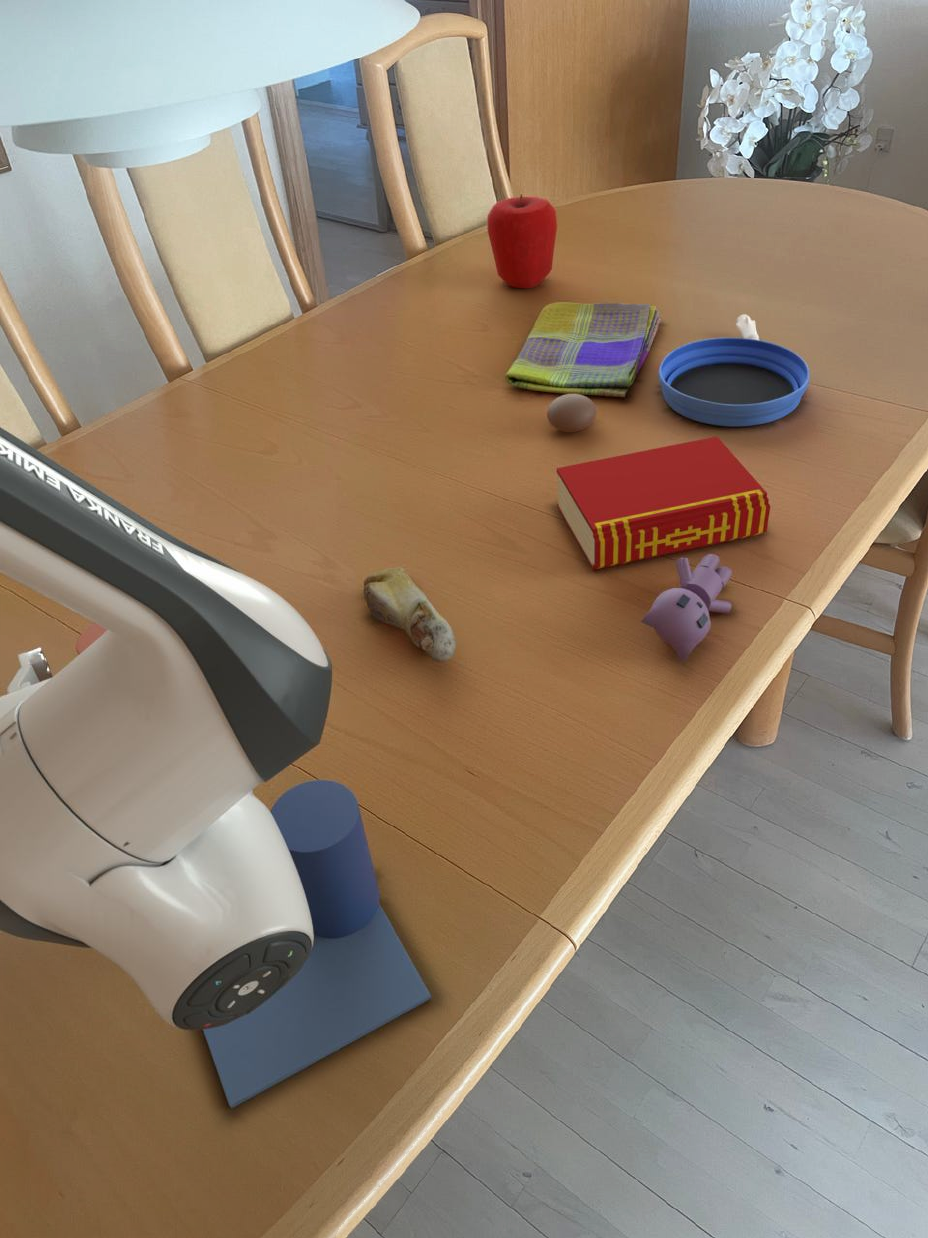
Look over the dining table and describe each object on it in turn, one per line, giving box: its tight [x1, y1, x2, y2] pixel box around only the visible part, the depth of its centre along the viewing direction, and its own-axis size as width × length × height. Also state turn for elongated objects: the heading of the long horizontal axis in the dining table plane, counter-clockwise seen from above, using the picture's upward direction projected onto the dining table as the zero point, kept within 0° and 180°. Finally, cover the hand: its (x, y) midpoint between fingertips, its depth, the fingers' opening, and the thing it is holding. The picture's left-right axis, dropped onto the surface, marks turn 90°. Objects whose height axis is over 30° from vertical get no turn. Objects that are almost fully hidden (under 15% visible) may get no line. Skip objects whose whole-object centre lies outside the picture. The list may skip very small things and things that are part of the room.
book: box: [556, 436, 771, 571], centre depth 102 cm, size 18×13×5 cm
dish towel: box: [504, 301, 662, 398], centre depth 134 cm, size 18×24×3 cm
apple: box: [486, 193, 558, 289], centre depth 151 cm, size 10×10×14 cm
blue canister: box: [269, 779, 380, 938], centre depth 67 cm, size 6×6×10 cm
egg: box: [546, 393, 597, 433], centre depth 119 cm, size 6×6×4 cm
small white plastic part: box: [735, 313, 760, 340], centre depth 133 cm, size 4×6×3 cm, turn 159°
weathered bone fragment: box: [363, 566, 457, 663], centre depth 92 cm, size 5×5×15 cm
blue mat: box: [202, 903, 432, 1109], centre depth 67 cm, size 14×14×1 cm
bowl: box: [658, 337, 810, 428], centre depth 122 cm, size 18×18×4 cm
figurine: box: [640, 553, 733, 665], centre depth 90 cm, size 5×7×12 cm
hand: (104, 632), depth 65 cm, fingers open, 8 cm apart
